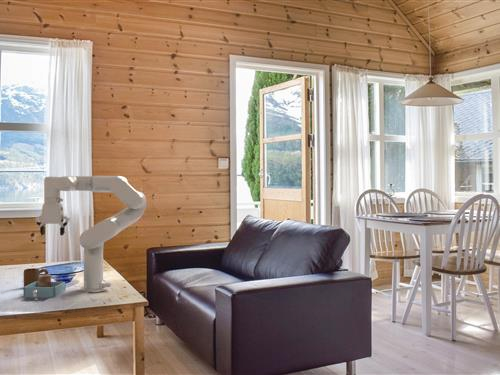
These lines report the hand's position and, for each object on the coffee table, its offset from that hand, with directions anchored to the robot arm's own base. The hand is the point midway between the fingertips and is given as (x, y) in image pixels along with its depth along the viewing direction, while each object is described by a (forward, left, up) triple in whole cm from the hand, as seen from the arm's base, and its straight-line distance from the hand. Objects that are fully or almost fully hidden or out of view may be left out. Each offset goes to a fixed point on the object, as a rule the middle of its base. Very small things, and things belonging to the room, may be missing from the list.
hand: (52, 234), depth 255 cm
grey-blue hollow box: (-1, +22, -28) cm, 36 cm away
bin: (-1, +11, -28) cm, 30 cm away
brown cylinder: (0, +10, -28) cm, 29 cm away
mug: (+12, -8, -28) cm, 32 cm away
